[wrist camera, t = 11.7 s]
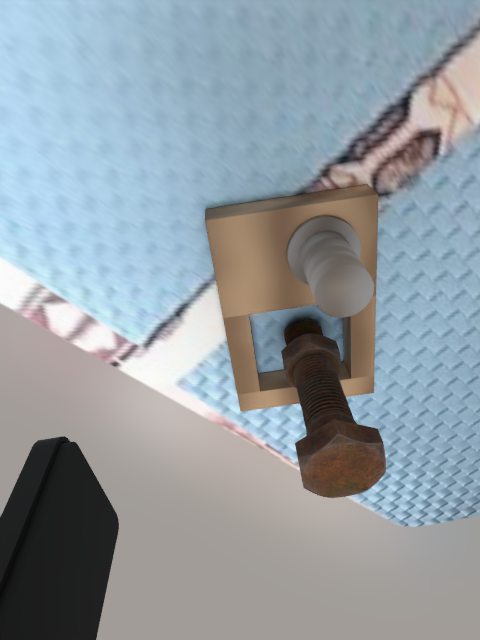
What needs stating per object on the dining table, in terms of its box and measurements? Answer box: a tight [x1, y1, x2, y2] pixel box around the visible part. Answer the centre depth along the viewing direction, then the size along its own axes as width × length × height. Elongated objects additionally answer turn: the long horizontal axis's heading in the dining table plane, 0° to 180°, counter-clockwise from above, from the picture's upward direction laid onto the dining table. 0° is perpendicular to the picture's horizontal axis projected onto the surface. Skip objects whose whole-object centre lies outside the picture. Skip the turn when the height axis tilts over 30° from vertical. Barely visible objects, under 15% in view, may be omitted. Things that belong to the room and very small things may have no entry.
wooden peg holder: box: [205, 184, 378, 411], centre depth 34 cm, size 12×18×9 cm, turn 8°
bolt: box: [281, 319, 386, 498], centre depth 34 cm, size 6×5×15 cm
